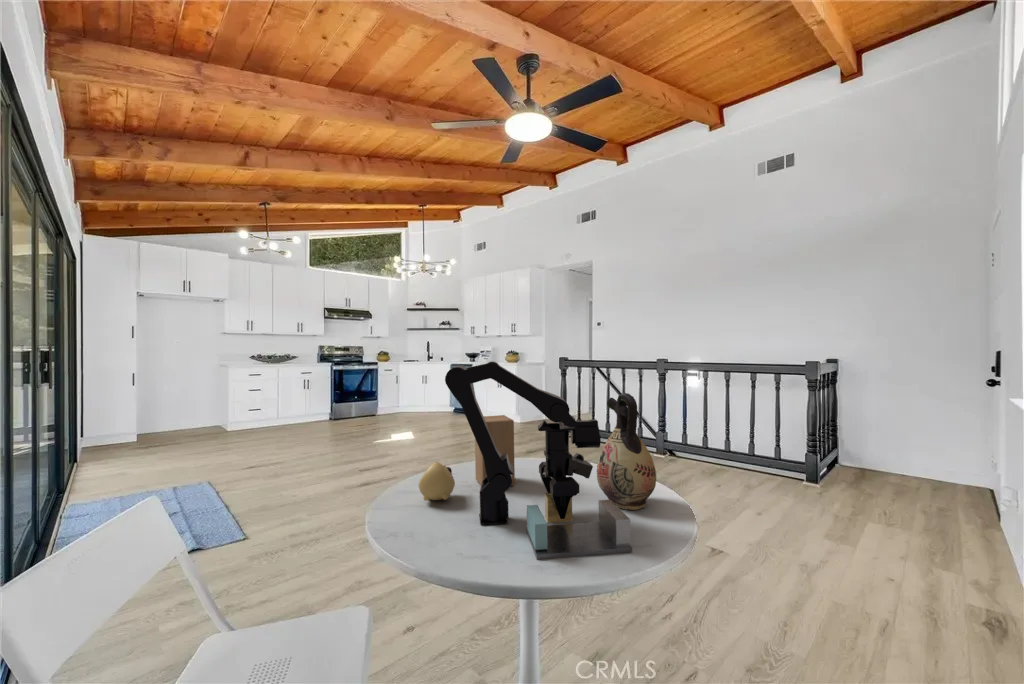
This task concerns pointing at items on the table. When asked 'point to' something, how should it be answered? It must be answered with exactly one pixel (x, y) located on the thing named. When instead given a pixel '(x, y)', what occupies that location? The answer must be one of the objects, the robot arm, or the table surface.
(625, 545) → the vise base
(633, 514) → the table surface
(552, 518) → the brass block
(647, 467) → the ceramic jug
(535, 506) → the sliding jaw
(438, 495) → the toy pig
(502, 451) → the wooden block
